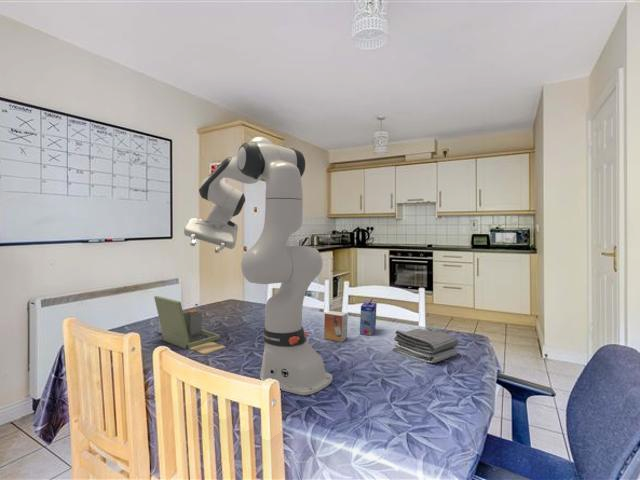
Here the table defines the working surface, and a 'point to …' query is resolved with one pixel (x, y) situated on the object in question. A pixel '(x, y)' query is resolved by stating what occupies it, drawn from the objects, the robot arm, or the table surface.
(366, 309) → the juice box
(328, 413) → the table surface
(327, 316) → the small box
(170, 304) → the case
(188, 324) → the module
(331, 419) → the table surface
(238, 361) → the table surface
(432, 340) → the towel
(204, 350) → the pad
